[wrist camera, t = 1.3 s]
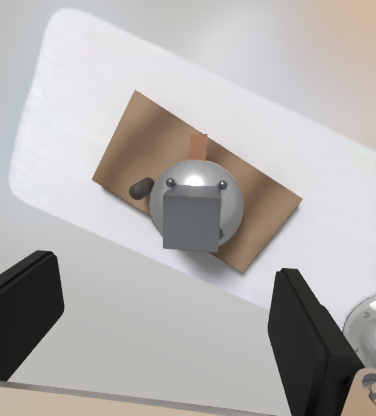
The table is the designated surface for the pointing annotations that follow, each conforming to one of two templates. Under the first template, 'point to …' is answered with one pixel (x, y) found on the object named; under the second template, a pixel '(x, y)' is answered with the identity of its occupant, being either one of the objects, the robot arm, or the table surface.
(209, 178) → the flange plate
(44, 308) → the robot arm
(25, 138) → the table surface
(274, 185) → the base board
